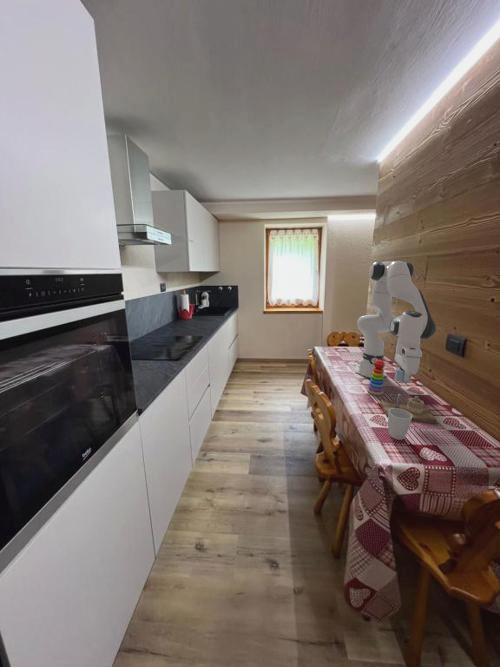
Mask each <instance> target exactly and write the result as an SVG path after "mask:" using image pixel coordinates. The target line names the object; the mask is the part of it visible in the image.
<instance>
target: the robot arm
mask: <svg viewBox="0 0 500 667" xmlns="http://www.w3.org/2000/svg"><path fill="white" fill-rule="evenodd" d="M414 270H415V269H414V265H413V264H412V263H411V262H407V261H402V260H391V261H375V262H373V263H372V264H371V266H370V268H369V272H368V273H369V277H370V279H371V280H372V281H374V284H373V289H372V295H371V302H370V305H371V307H373V308H375V309H376V314H365V315H361V316H359V317H358V320H357V322H356V326H357V328H358V330H359V331H360V332H361V333H362V335H363V337H364V350H363V353H362V357H361V358H360V360H357V364H356V366H355V370H354V373H355V374H358V375H361V376H362V377H366V378H369V379H371V375H372V372H373V369H374V368H376V367H375V366H374V362H375V361H376V360H382V361H383V362H384V351H385V341H384V340H383V339H381V338H380V337H379V336H380V335H379V333H389V332H390V333H391V334H392V335H393V336H396V337H397V340H396V347H395V354H394V362H396V363H397V368H402V369H403V370H404V371H405V374H404V375H403V379H404V380H407V381H408V380H409V376H410V375H411V374H412V375H417V374H418V372H419V368H420V364H421V358H422V357H423V352H422V349H421V339H422V340H427V339H430V338H431V337H433V335H435V333H436V331H437V326H436V322H435V320H434V318H432V315H431V313H430V310H429V308H428V305H427V302H426V300H425V297H424V295H423V293H422V291H421V290H420V289H419V288H417V286H416V285H415V284H414V283H413V281H412V277H413V274H414ZM393 298H395V299H398V300H400V301H401V300H402V301H404V302H406V303H408V304H411V305H412V306H413V308H414V310H405V311H403V312H402V314H401V315H399V316H395V315H394V312H393V310H392V309H393V308H392V302H393ZM384 364H385V365H384V367H383V368H382V369H383V370H384V371H383V378H384V377H387V373H386V372H385V370H386V369H385V367H386V363H385V362H384Z"/></svg>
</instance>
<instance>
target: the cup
mask: <svg viewBox="0 0 500 667" xmlns="http://www.w3.org/2000/svg"><path fill="white" fill-rule="evenodd" d="M412 421H413V420H412V414H411V413H409V412H407V411H405V410H402V409H398V408H391V409H389V413H388V417H387V429H388V433H389V434H388V435H389V436H390V437H391V438H393V439H395V440H399V441H403V440H404V439H405V437H406V436H407V435H408V432H409V429H410V426H411V423H412Z"/></svg>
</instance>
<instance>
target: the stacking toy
mask: <svg viewBox="0 0 500 667" xmlns="http://www.w3.org/2000/svg"><path fill="white" fill-rule="evenodd" d="M384 363H385V362H384V360H383V361H382V360H376V361H375V362H374V366H375V367H376V368H374V369H373V372H372V375H371V378H369V379H370V381H369V382H368V385H367V388H366V390H367V391H366V392H368V393H369V394H371V395H374V396H382V395H384V388H383V387H384V377H383V371H384V372H385V370H383V369H382V368H383V367H384V365H385V366H386V363H385V364H384Z"/></svg>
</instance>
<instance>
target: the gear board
mask: <svg viewBox="0 0 500 667" xmlns="http://www.w3.org/2000/svg"><path fill="white" fill-rule="evenodd" d="M401 399H402V394H401V393H398V394H397V398H396V401H391V400H383V399H380V401H379V404H380V405H381V406H380V407H381V408H382V410H383V411H384V413H385V415H386V418H388V413H389V409H391V408H398V409H402V410H405V411H407V412H409V413H411V414H412V420H411V421H414V422H420V423H421V422H423V423H429V424H436V425H437V423H438V420H437V418H436V417H435V416H434V415H433V413H432V412H431V411H430V410H429V409H428V407H427V406H426V405H425V402H424V400H422V399H420V398H419V396H418V395H415V396H414V397H408V398H407V402H401Z"/></svg>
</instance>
